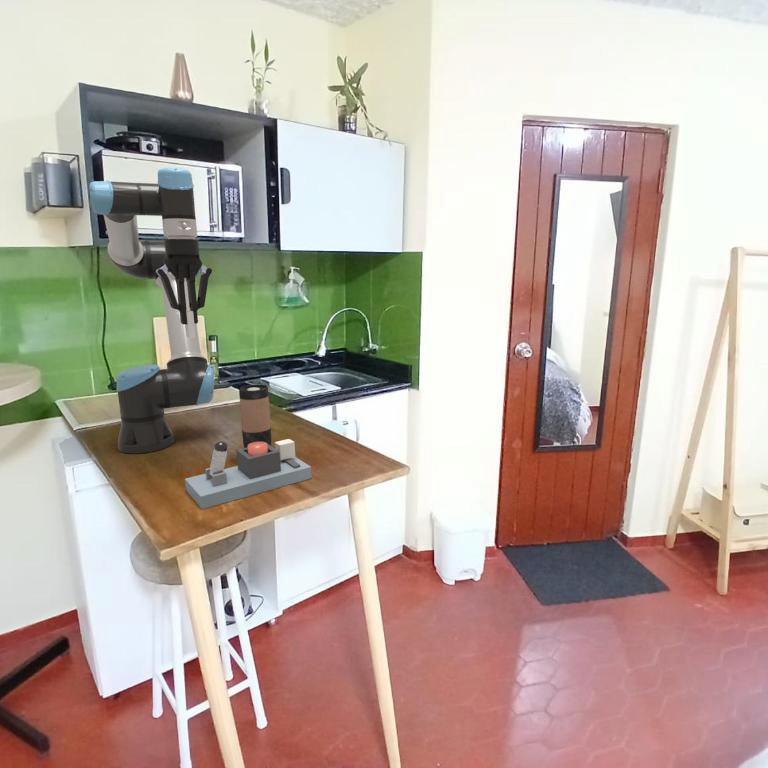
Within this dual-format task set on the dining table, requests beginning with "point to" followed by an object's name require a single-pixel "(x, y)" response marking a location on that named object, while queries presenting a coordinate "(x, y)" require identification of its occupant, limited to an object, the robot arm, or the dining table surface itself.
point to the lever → (218, 458)
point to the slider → (285, 448)
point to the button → (257, 448)
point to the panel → (247, 478)
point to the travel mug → (255, 414)
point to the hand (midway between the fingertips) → (190, 337)
